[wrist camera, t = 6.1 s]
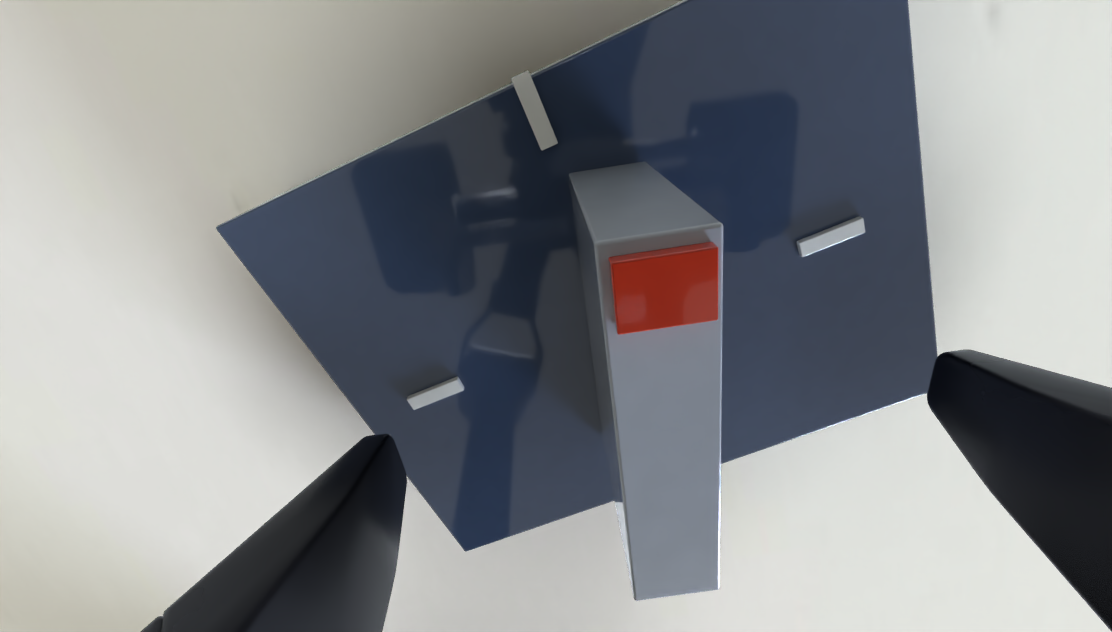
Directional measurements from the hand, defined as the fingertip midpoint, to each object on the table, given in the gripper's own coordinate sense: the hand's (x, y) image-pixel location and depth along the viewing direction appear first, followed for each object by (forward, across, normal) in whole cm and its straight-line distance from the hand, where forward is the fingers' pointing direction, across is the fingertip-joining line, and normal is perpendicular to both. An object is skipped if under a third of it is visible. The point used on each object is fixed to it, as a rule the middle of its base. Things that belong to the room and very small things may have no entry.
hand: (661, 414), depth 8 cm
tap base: (+7, 0, 0) cm, 7 cm away
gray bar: (+4, 0, 0) cm, 4 cm away
